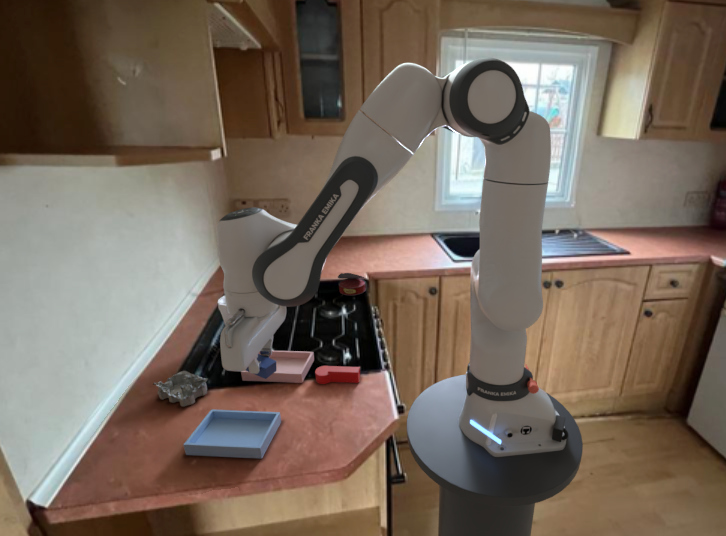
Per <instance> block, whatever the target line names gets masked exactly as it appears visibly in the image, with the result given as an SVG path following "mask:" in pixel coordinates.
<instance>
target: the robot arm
mask: <svg viewBox="0 0 726 536" xmlns="http://www.w3.org/2000/svg"><path fill="white" fill-rule="evenodd" d="M439 128H443V129H446V130H448V131H449V132H452V133H456V134H458V135H461V136H464V137H467V138H477V139H479V140H480V142H481V143H482V147H483V149H484V150H483V151H484V158H485V161H484V168H483V177H482V188H481V199H480V211H479V221H478V226H479V249H478V250H477V251H475V253H474V256H473V258H472V261H471V265H470V279H469V280H470V281H469V282H470V283H469V284H470V286H469V287H470V289H469V293H470V295H469V297H470V299H469V301H470V303H469V305H470V306H469V307H470V309H469V310H470V344H469V345H470V346H469V362H468V364H467V367H466V372H465V375H466V391H467V394H466V399H465V403H464V407H463V410H462V412H461V414H460V417H459V425H460V428H461V430H462V432H463V433H464V434H465V435H466V436H467V437H468V438H469V439H470V440H472V441H473V442H475V443H477V444H479V445H481V446H482V447H484V448H485V449H486V450H487V451H488V452H489V453H490V454H491V455H492V456H494V457H504V456H513V455H522V454H532V453H541V452H551V451H560V450H563V449H564V447H565V445H566V439H567V438H568V432H567V430H566V429H565V426H564V424H565V417H563V416H560V415H559V414H558V412H557V411H556V410H555V409H554V406H553V404H552V401H551V399H550V398H549V396H548V395H547V393H548V392H547V391H545V390H544V389H542V388H541V387H539V385H538V382H537V381H536V380H534V375H533V373H532V372H531V371H530V368H529V366H528V364H526V352H527V344H528V335H527V329H528V328H530V327H532V326H533V325H534V324H535V323H536V322H537V321H539V318H540V317H541V315H542V312H543V309H544V300H543V299H544V298H543V290H542V282H543V281H542V277H543V243H542V242H543V223H544V215H545V209H546V202H547V201H546V200H547V194H548V188H549V181H550V173H551V160H552V159H551V157H552V138H551V137H552V136H551V127H550V124H549V122H548V121H547V120H546V118H545V117H544V116H542V115H541V114H539V113H537V112H534V111H530V107H529V104H528V102H527V98H526V96H525V92H524V88H523V84H522V82H521V78H520V77H519V75H518V73H517V72H516V71H515V69H514V68H513V67H512V66H511V65H510V64H508V63H507V62H505V61H503V60H501V59H498V58H494V57H480V58H476V59H474V60H471V61H468V62H466V63H463V64H461V65H460V66H458V67H457V68H455V69H454V70H453V71H451V72H449V73H447V74H446V75H443V76H441V77H439V76H437V75H434V74H433V72H431V71H430V70H428V69H427V68H426V67H424V66H422V65H420V64H417V63H414V62H404V63H400V64H399V65H397V66H396V67H394V69H393V70H391V71H390V72H389V73H388V75H386V76H385V77H384V78H383V79H382V80H381V82H379V84H378V85H377V86H376V87H375V88H374V90H373V91H372V92H371V93H370V94H369V96H368V97H367V98H366V99H365V101H364V102H363V104H362V105H361V106H360V107H359V109H358V110H357V112H356V113H355V115H354V117H352V120H351V121H350V123H349V125H348V127H347V129H346V130H345V132H344V134H343V137H342V139H341V140H340V143H339V146H338V148H337V150H336V153H335V156H334V159H333V162H332V165H331V167H330V171H329V174H328V176H327V178H326V180H325V183H324V184H323V186H322V188H321V190H320V192H319V193H318V195H317V196H316V198H315V199H314V200H313V202H312V204H311V205H310V206H309V207H308V209H307V211H306V212H305V213H304V214H303V216H302V217H301V219H300V220H299V221H298V223H297V224H295V223H292V222H289V221H286V220H283V219H280V218H278V217H275V216H274V215H271V214H270V213H269V212H268V211H266V209H263V208H260V207H246V208H241V209H237V210H234V211H231V212H228V213H227V214H225V215H224V216H223V217H222V218H220V219H219V221H218V222H217V225H216V244H217V245H216V246H217V253H218V262H219V265H220V267H221V269H222V272H223V285H222V286H223V293H224V296H225V299H226V305H227V311H228V313H229V314H231V315H233V317H232V318H230V319H229V320H228V321H227V323H226V326H225V325H224V327H223V329H222V330H221V333H220V337H219V338H220V339H219V343H220V344H219V345H220V357H221V358H220V359H221V366H222V368H223V369H224V370H226V372H227V371H228V372H241V371H245V370H246V369H247V367H249V372H250V373H252V374H258V373H259V371H260V370H261V367H262V366H261V361H257V357H258V353H259V352H260V354H261V355H263V356H265V357H268V358H269V357H270V356H271V355H272V351H273V342H274V334H275V333H276V332H277V330H279V328H280V327H281V326H282V324H283V323H284V322H285V320H286V317H287V307H288V308H289V307H290V308H292V307H299V306H301V305H304V304H306V303H308V302H309V301H311V300H312V299H313V298H314V296H316V294H317V292H318V290H319V287H320V283H321V277H322V274H323V270H324V268H325V265H326V262H327V258H328V257H329V255H330V254H331V252H332V250H333V249H334V248H335V246H336V245H337V243H338V242H339V240H340V239H341V238H342V236H343V235H344V233H345V232H346V231H347V229H348V228H349V227H350V225H351V224H352V223H353V221H354V220H355V218H356V217H357V216H358V214H359V213H360V212H361V211H362V209H363V208H364V207H365V206H366V205H367V204H368V203H369V202H370V201H371V200H372V199H373V198H374V197H375V196H376V195H377V194H378V193H379V192H380V191H382V189H384V188H385V186H387V185H388V184H389V183H390V182H391V181H393V179H394V178H395V177H396V176H397V175H398V174H399V173H400V171H402V170H403V168H404V167H406V166H407V164H408V163H409V162H410V160H411V159H412V158H413V156H414V154H416V152H417V151H418V149H419V148H420V147H421V145H422V143H423V142H424V141H425V140H426V138H427V137H429V136H430V135H431V133H433V132H435V130H437V129H439Z"/></svg>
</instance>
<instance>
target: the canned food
mask: <svg viewBox="0 0 726 536" xmlns="http://www.w3.org/2000/svg"><path fill="white" fill-rule="evenodd" d="M337 279H342V280H340V281H339V282H338V289H339V291H338V292H339V293H340V294H342V295H344V296H357V295H361V294H363V293H364V292H366V290H367V288H366V281H365V280H364V279H365V276H362V275H359V274H355V273H350V272H343V273H342V272H341V273H340V274H338V275H337Z"/></svg>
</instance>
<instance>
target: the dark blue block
mask: <svg viewBox="0 0 726 536" xmlns="http://www.w3.org/2000/svg"><path fill="white" fill-rule="evenodd" d="M257 361H261V366H262V367H261V370H260V371H259V373H258V374H255V375H257V376H260V377H262V378H264V379H267V378H268V377H269V376H271V375H272V374H273V373H274V372H276V361H275V360H273V359H270V358H268V357H265V356H263V355H260V354H258V357H257ZM245 371H248V372H249V367H247V369H246V370H245Z"/></svg>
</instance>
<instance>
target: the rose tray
mask: <svg viewBox="0 0 726 536" xmlns="http://www.w3.org/2000/svg"><path fill="white" fill-rule="evenodd" d="M258 354H260V352H259V353H258ZM260 355H261V354H260ZM269 358H270V359H273V360H275V361H276V372H274V373H273V374H272V375H271V376H269V377H268V378H267V379H264V378H262V377H260V376H257V375H255V374H252V373H250V372H248V371H240V374H241V380H242V381H243V382H269V383H272V382H273V383H293V384H294V383H295V384H302V383H303V382H304V380H305V379H306V376H307V375H308V373H309V371H310V369H311V367H312V366H313V363H314V362H315V353H314V351H301V350H300V351H298V350H297V351H296V350H295V351H294V350H272V355H271V356H270V357H269Z"/></svg>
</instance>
